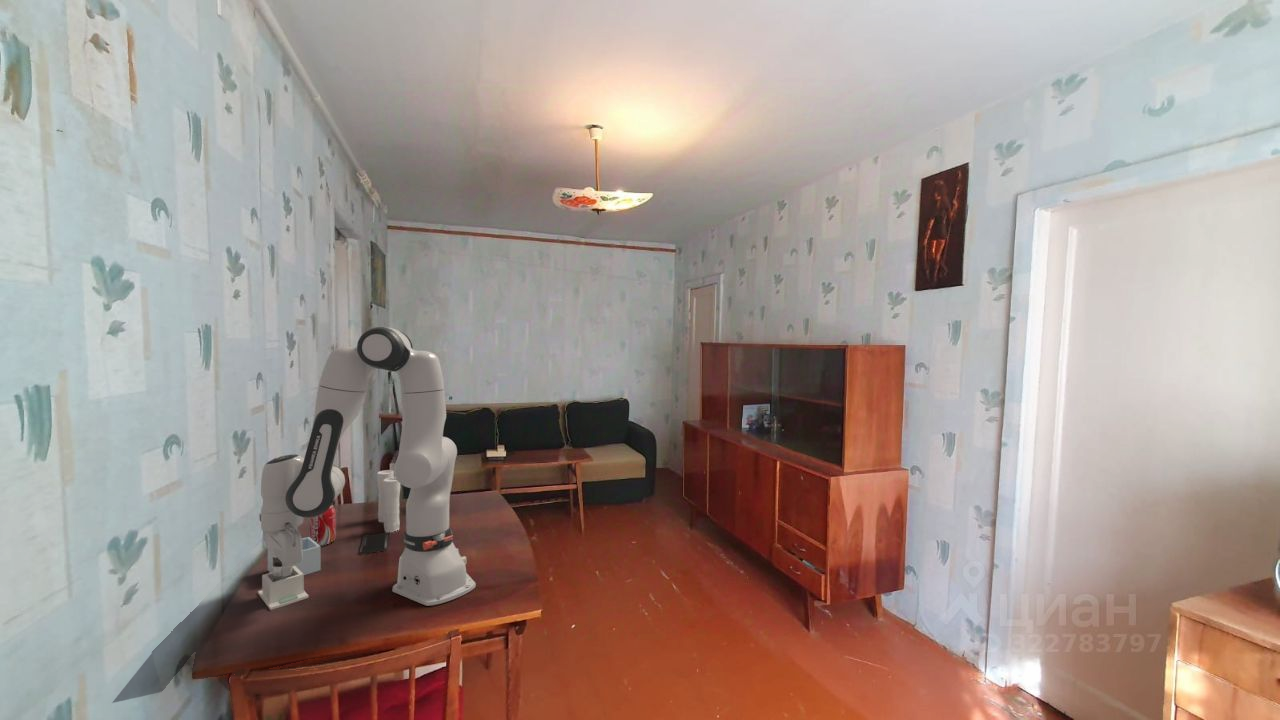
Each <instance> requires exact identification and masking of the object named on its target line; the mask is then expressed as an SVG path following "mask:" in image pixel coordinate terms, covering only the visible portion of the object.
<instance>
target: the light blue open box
mask: <svg viewBox="0 0 1280 720" xmlns="http://www.w3.org/2000/svg"><path fill="white" fill-rule="evenodd" d="M301 539H302V553H303V558H302V561H301V563H298V564H295V565H292V567H293V566H296V567H297V568H298V569H299V570H300V571H301V572H302V573H303V574H304V576H306V575H310V574H313V573H316V572H319V571H322V569H321V566H322V565H321V562H322V561H321V558H322V557H321V556H322V555H321V553H322V551H321V550H322V549H321V547H322V546H320V545H318V544H317V543H316V542H315V541H314V540H312V539H311V538H310V536H307V537H304V538H303V537H301ZM268 571H269V572H268ZM267 572H268V573H271V572H273V553H272V551H271V550H270V549H269V548H268V547H267Z"/></svg>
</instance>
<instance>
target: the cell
mask: <svg viewBox="0 0 1280 720" xmlns="http://www.w3.org/2000/svg"><path fill="white" fill-rule="evenodd" d="M281 568H282V562H281V561H280V560H279V559H278V558H277V557H276V556H275V555H274V554H273V582H275V581H278V580H282V579H285V578H288V577H292V567H291V574H290V575H288V576H283V575H282V574H281Z"/></svg>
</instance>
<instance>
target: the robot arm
mask: <svg viewBox="0 0 1280 720" xmlns="http://www.w3.org/2000/svg"><path fill="white" fill-rule="evenodd" d="M378 369H379V370H384V371H389V372H395V373H397V376H398V379H399V387H400V398H401V399H400V400H401V415H402V418H401V419H402V425H401V426H402V427H401V434H400V442H399V450H398V454H397V458H396V461H395V463H394V467H393V471H394V477H396V479H397V481H398V482H399V483H400V485H402V486H403V487H405V488H409V489H410V491H409V495H408V498H407V501H406V503H405V531H404V533H403V534H404V535H403V545H404V550H403V551H402V554H401V555H400V557H399V559H398V560H399V561H398V569H397V570H398V571H397V582H396V583H395V584H394V585H393V586H392V590H391V591H392V592H393V593H395V594H397V595H400V596H402V597H403V598H404V597H405V598H407V599H409V600H411V601H413V602H417V603H418V604H421V605H424V606H425V607H426V606H427V607H428V606H436V605H440V604H443V603H446V602H447V603H448V602H449V601H452V600H455V599H458V598H460V597H462V596H465V595H466V594H467V593H470V592H471V591H473V590H475V588H476V585H477V584H476V581H474V580H473V579H472V576H470V575H469V573H467V568H466V565H467V563H468V562H467V561H468V560H467V557H466V556H465V555H464V556H461V554H460V551H459V548H457V547H456V546H455V544H454V542H453V541H454V538H453V537H454V535H453V532H452V528H451V526H450V497H451V492H452V487H453V486H452V485H453V478H454V473H455V472H454V471H455V466H456V465H455V464H456V459H457V455H458V449H457V445H456V444H455V442H454V441H453V440H452V439H450V438H449V437H447V436H444V428H445V424H446V419H447V407H446V393H445V391H446V390H445V382H444V376H443V371H442V366H441V362H440V359H439V357H438V356H437V355H436V354H435V353H433V352H431V351H429V350H428V351H427V350H415V349H413V343H412V340H411V339H410V338H409V336H408V335H407V334H406V333H404V332H402V331H400V330H398V329H397V328H394V327H385V326H377V327H375V326H374V327H371V328H370V329H368V330H366V331H365V332H363V333H362V334H361V335H360V337H359V339H358V341H357V345H356V346H355V347H354V346H345V345H344V346H340V347H336V348H334V349H333V350H332V351H330V353H329V355H328V357H327V359H326V362H325V364H324V366H323V370H322V372H321V375H320V379H319V384H318V386H317V387H318V388H317V392H316V399H315V406H314V415H313V421H312V428H311V433H310V436H309V437H310V438H309V440H308V444H307V448H306V451H305V455H304V457H303V456H301V455H299V454H286V455H283V456H282V455H281V456H279V457H275V458H273V459H271V460H269V461H267V462H266V463H265V464H264V466H263V468H262V472H261V479H260V496H261V498H262V505H261V508H260V513H259V516H258V517H259V521H260V530H262V535H263V542H264V545H265V546H266V547H267V549H268V548H269V549H270V550H271V551H272V553H273V554H274V555H275V556H276V557H277V558H278V559H279V560H280V561H281V562H282V568H281V574H282V575H283V576H288V575H290V574H291V567H292V565H295V564H298V563H301V561H302V558H303V553H302V535H301V532H300V531H299V530H298V529H299V526H301V525H302V524H303V523H304V518H309V519H310V517H316V516H319V515H321V514H323V513H324V512H326V511H327V510H328V509H329V508H330V506H331V505H333V503H334V501H335V500H336V499H337V497H338V496H339V495H340V494H341V492H342V491H343V489H344V488H345V485H346V475H345V473H344V472H343V470H342V469H341V468H339V467H338V466H335V465H334V464H335V460H336V455H337V451H338V447H339V443H340V442H341V439H342V437H343V435H344V434H345V433H346V430H347V429H348V428H349V427H350V426H351V424H352V423H353V422H354V421H355V420H356V419H357V417H358V416H359V415H360V412H361V409H362V407H363V406H364V402H365V399H366V395H367V391H368V386H369V381H370V379H371V378H370V377H371V375H372V374H373V372H375V371H376V370H378Z"/></svg>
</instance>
